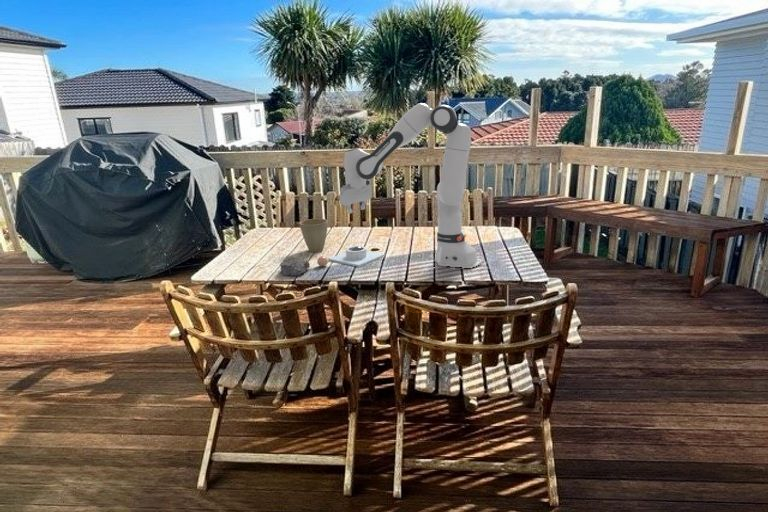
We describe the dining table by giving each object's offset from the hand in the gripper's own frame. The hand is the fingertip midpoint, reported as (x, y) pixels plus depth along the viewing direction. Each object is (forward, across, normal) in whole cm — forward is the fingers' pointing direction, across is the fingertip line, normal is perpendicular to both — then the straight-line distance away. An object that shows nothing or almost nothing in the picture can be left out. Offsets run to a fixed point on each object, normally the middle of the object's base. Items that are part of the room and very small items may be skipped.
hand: (356, 211), depth 220 cm
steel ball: (+20, 0, +1) cm, 21 cm away
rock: (+24, -32, +13) cm, 42 cm away
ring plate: (+24, -1, +1) cm, 24 cm away
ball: (+21, -19, +7) cm, 30 cm away
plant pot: (+24, -1, +30) cm, 38 cm away
